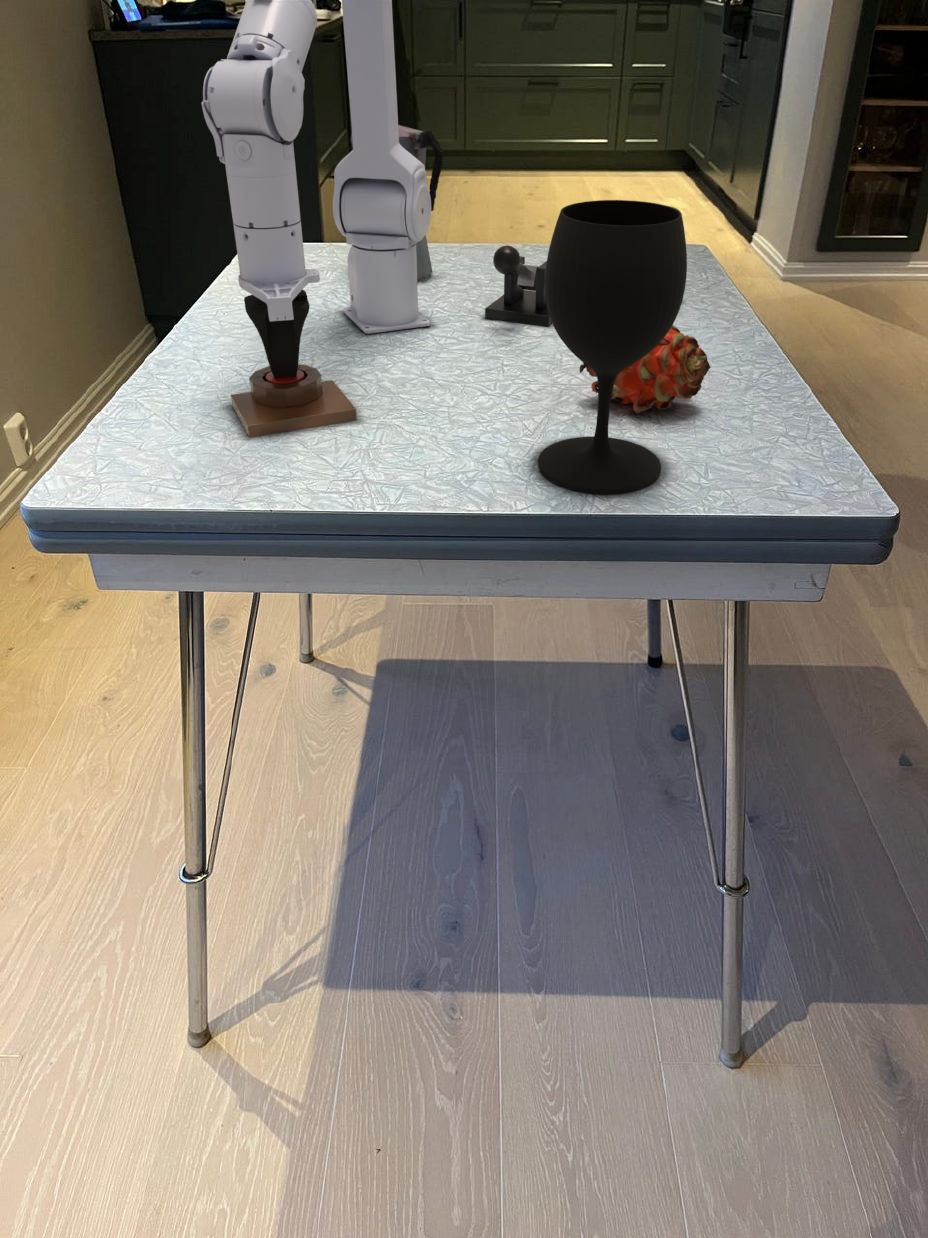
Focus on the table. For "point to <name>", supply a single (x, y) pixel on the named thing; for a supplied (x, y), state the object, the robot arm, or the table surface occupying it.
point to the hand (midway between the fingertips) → (284, 375)
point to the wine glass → (611, 322)
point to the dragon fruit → (661, 374)
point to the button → (289, 380)
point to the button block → (291, 404)
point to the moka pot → (417, 147)
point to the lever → (515, 267)
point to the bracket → (521, 301)
